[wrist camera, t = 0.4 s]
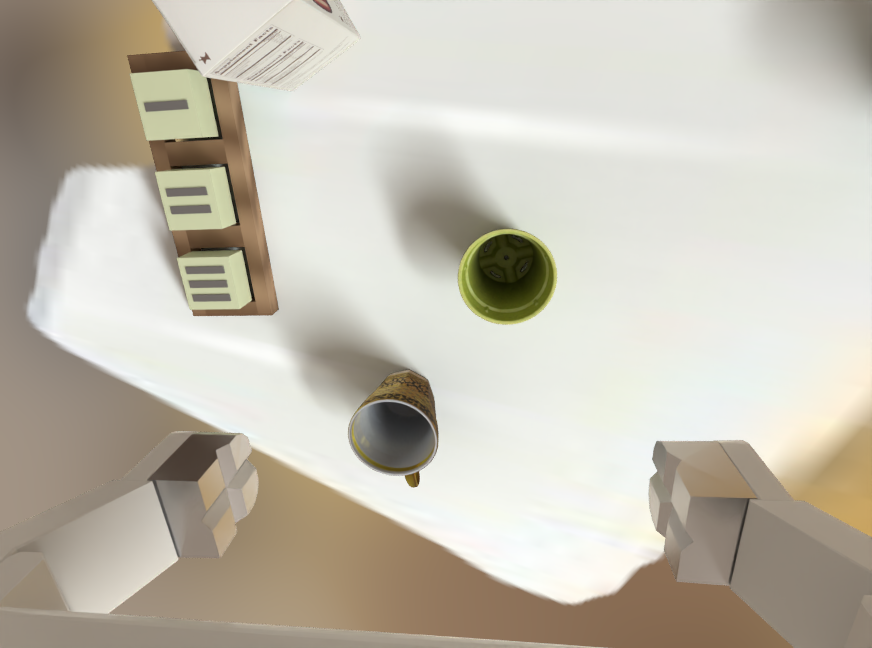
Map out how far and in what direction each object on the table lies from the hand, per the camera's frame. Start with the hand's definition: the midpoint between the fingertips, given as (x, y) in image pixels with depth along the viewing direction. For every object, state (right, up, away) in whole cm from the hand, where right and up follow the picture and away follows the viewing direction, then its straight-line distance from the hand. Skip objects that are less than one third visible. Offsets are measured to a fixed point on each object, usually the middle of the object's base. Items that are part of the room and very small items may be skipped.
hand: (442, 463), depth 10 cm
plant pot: (+8, +10, +45) cm, 47 cm away
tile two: (-25, +17, +44) cm, 53 cm away
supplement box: (-14, +32, +39) cm, 52 cm away
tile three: (-25, +8, +47) cm, 54 cm away
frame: (-25, +18, +46) cm, 55 cm away
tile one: (-26, +25, +41) cm, 54 cm away
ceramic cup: (-3, -7, +54) cm, 54 cm away
